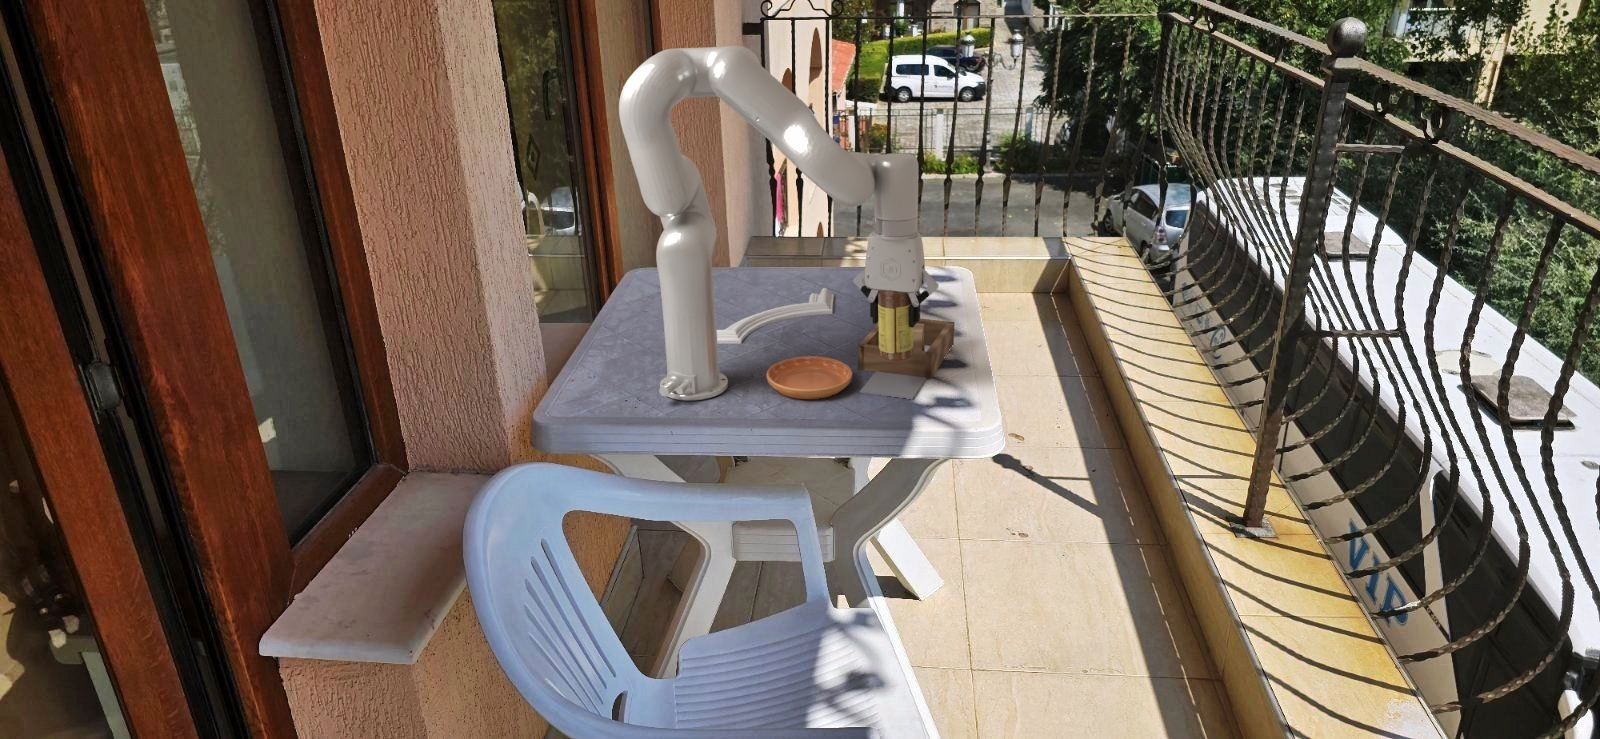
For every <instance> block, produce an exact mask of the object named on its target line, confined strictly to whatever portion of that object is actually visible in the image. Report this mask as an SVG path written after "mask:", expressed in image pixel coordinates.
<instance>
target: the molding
mask: <svg viewBox="0 0 1600 739" xmlns="http://www.w3.org/2000/svg"><path fill="white" fill-rule="evenodd" d="M834 295H835V294H834V293H831V291H829V289H828V288H827V287H823V288H822V289H821V290H820V293H819V294H818V293H814V292H811V294H810V295H809V298H808V302H803V303H795V304H788V305H784V306H777V307H774V308H772V309H768V310H764V311H761V312H758V313H756V314H753V315H750V316H747V317H745V318H742V319H740V320H738V321H736V322H733V323H732V324H730V325H729V326H728V327H727V328H725V329H717V345H718V344H721V345H723V344H724V345H725V344H726V345H727V344H730V345H732V344H738V345H741V344H742V343H743V341H744V339H745V338H746V337H747V336H749V335H750V334H751V333H753V332H754V331H757V330H758V329H761V328H762V327H765V326H768V325H770V324H773V323H777V322H779V321H782V320H783V321H784V320H787V319H788V320H789V319H792V318H798V317H804V316H805V317H806V316H816V315H832V314H833V311H834V310H833V309H834V308H833V307H834Z"/></svg>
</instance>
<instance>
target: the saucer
mask: <svg viewBox="0 0 1600 739" xmlns="http://www.w3.org/2000/svg"><path fill="white" fill-rule="evenodd" d="M852 379H853V371H852V368H851V367H850V366H849V365H848V364H846V363H844V362H842V361H841V360H838V359H834V358H832V357H826V356H817V355H815V356H813V355H803V356H795V357H789V358H786V359H782V360H781V361H778V362H775V363H774V364H772V365H771V366H769V368H768V369H767V371H766V381H767V382H768V384H769V385H770V386H771V387H772V388H773V389H774V390H776V391H777V392H779V394H782V395H783V396H785V397H788V398H792V399H798V400H820V399H819V398H821V399H825V398H830V397H832V395H833V396H835V395H837V394H839V393H840V392H841V391H843V390H844V389H845V388H847V387H848V385H849V384H850V383H851V382H852Z"/></svg>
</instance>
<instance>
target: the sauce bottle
mask: <svg viewBox="0 0 1600 739" xmlns="http://www.w3.org/2000/svg"><path fill="white" fill-rule="evenodd" d="M910 306H911V299H910V297H909V294H908V293H901V292H897V291H892V290H883V291H879V290H878V322H877V324H878V325H879V349H880V354H881V356H882V357H883V358H885V359H887V360H894V361H900V360H906V359H908V358H910V357H911V356H912V353H913V349H912V348H913V328H912V327H910V326H909V307H910Z"/></svg>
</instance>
